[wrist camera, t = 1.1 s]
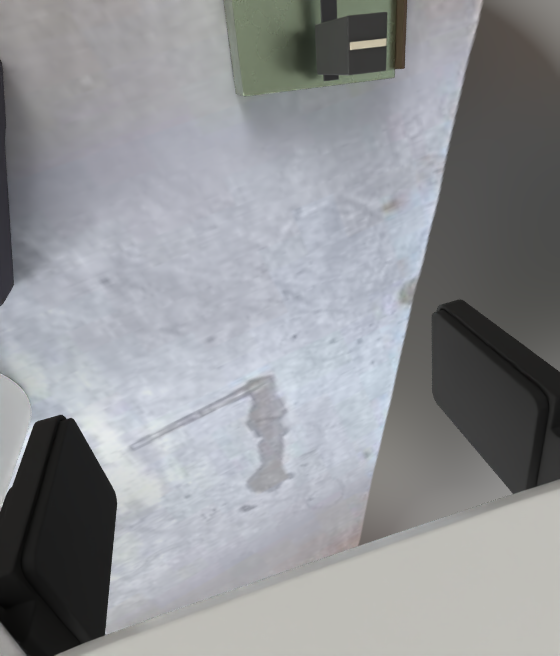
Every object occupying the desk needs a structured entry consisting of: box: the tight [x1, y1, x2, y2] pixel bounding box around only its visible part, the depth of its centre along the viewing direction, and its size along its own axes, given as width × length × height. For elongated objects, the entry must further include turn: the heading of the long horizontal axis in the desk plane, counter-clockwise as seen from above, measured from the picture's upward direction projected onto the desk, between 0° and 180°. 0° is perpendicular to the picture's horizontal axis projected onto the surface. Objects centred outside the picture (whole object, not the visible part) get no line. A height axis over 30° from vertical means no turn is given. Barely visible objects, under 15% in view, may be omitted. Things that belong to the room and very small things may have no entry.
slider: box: [315, 12, 387, 75], centre depth 23 cm, size 2×2×5 cm
